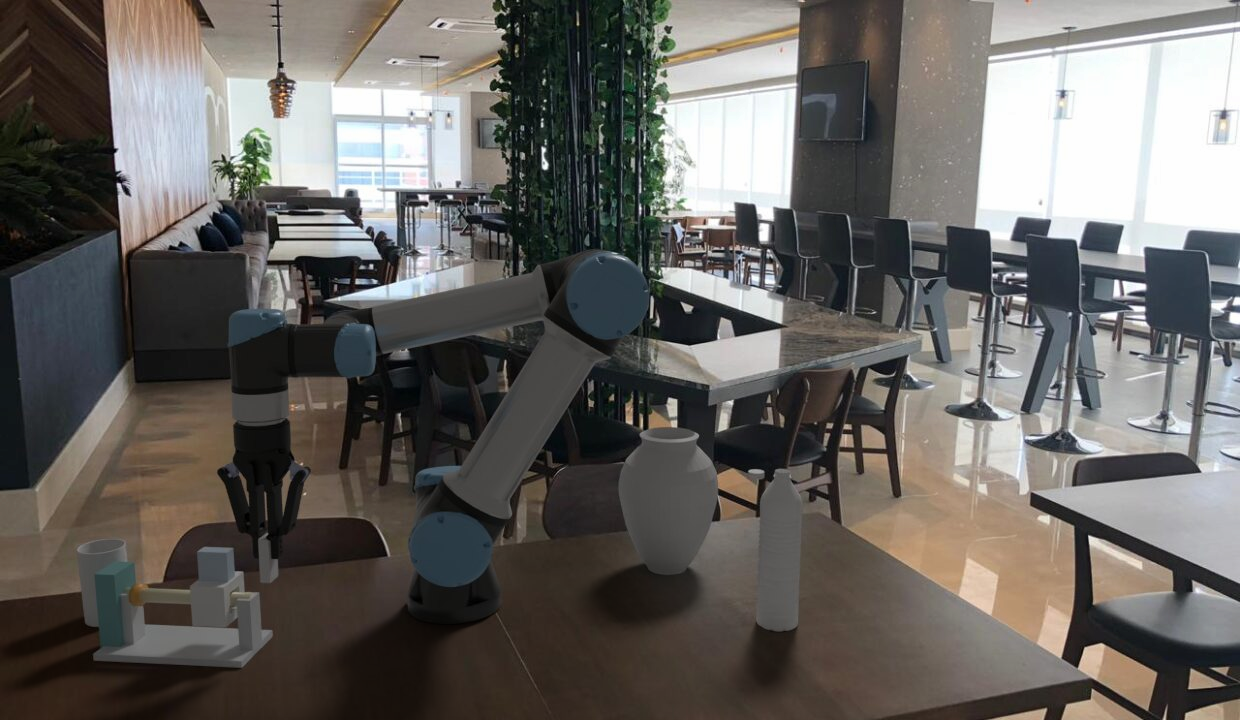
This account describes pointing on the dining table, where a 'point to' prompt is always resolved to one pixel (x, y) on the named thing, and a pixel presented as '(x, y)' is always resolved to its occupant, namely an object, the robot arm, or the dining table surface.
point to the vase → (668, 498)
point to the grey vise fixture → (169, 644)
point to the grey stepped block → (215, 588)
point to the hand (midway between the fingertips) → (269, 579)
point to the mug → (96, 570)
